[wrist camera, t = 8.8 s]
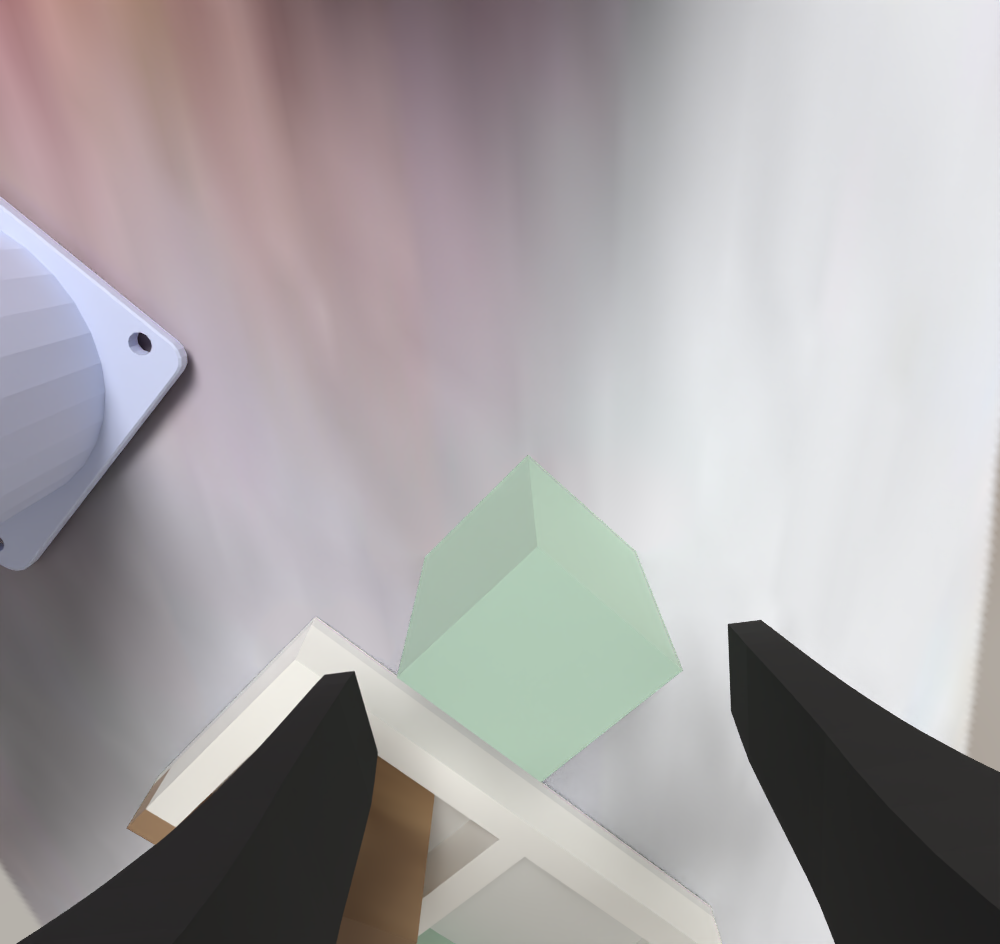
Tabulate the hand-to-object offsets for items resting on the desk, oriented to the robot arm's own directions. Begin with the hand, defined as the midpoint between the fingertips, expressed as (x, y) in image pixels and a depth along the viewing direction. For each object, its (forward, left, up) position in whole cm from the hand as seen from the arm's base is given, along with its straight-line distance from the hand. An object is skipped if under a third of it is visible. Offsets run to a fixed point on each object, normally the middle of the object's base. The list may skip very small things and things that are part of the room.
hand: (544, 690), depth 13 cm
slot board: (+5, -10, -5) cm, 12 cm away
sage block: (0, 0, -5) cm, 5 cm away
